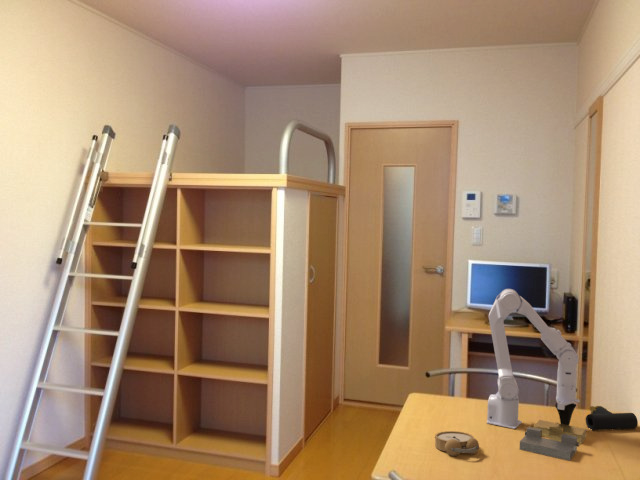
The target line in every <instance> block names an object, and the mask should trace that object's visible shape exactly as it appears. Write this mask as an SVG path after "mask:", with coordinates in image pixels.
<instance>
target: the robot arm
mask: <svg viewBox="0 0 640 480" xmlns="http://www.w3.org/2000/svg"><path fill="white" fill-rule="evenodd" d="M514 312H516V313H517V314H520V315H523V316H525V317H526V319H527V320H529V322H530V323H531V324H532V325H533V326H534V328H536V330H538V332H539V333H540V340H541V341H542V342H543V343H544V345H545V346H546V347H547V348H548V350H550V352H551V353H552V354H553V355H554V356H556V358H557V360H558V364H557V366H558V367H557V373H556V396H555V401H556V402H557V403H555V405H554V406H555V409H556V410H557V413H558V417H559V421H560V423H559V424H564V425H569V426H570V423H571V420H572V415H573V413H574V410H575V408H576V407H577V404H578V403H580V400H581V399H579V398H576V396H577V373H578V372H577V365H578V363H579V361H580V358H579V355H578V353H577V352H576V351H575V349H574V347H573V346H572V344H571V343H570V342H568V341H567V340H566V339H565V338H564V337H563V336H562V334H563V333H562V332H561V330H560V329H557V328H555V327H549V326H548V324H547V323H546V322H545V321H544V320H543V319H542V317H541V316H540V315H539V313H538V312H537V311H536V310H535V309H534V307H533V306H532V304H530V303H529V302H528V301H527V300H526V299H525V298H524V297H522V296H521V295H519V294H518V292H517V291H516V290H515V289H512V288H505V289H503V290H502V291H501V292H500V293H498V295H496V298H495V300H494V302H493V304H492V306H491V308H490V311H489V313H488V320H489V321H488V322H489V327H490V332H491V340H492V343H493V350H494V355H495V361H496V368H497V373H498V377H497V381H496V382H497V387H498V388H497V389H498V391H497V392H496V393H495V394H489V397H488V400H487V417H486V424H488V425H489V424H490V425H495V426H499V427H504V428H510V429H514V430H516V429H517V427H519V426H520V425H521V424H522V423H523V421H522V420H519V407H520V406H519V405H520V401H519V398H520V396H519V395H518V394H519V391H520V390H519V386H518V381H517V379H516V377H515V376H514V374H513V368H512V363H511V357H510V352H509V351H510V350H509V346H508V341H507V340H508V339H507V334H506V329H505V328H506V327H505V323H504V321H505V320H506V319H507V317H509V315H510V314H512V313H514ZM576 403H577V404H576Z"/></svg>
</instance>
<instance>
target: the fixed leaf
mask: <svg viewBox="0 0 640 480" xmlns="http://www.w3.org/2000/svg"><path fill="white" fill-rule="evenodd" d="M579 445H580V444H579V442H577V437H576V436H571V435H567V434H562V435H561V442H560V441H555V440H550V439H549V438H547V437H543V436H542V429H537V428H534V427H532V426H531V427H530V426H527V428H526V430H525V431H524V437H522V438H521V440H519V450H522V451H524V452H525V451H526V452H528V453H529V452H530V453H534V454H538V455H542V456H547V457H552V458H555V459H560V460H565V461H569V462H570V461H571V460H572V458H573V457H574V455H575V454H576V453H577V450H578V447H579Z"/></svg>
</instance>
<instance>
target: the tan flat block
mask: <svg viewBox="0 0 640 480" xmlns="http://www.w3.org/2000/svg"><path fill="white" fill-rule="evenodd" d="M533 428H537V429H542V437H543V438H547V439H550V440H555V441H560V442H561V435H562V434H567V435H571V436H576V437H577V442H579V445H582V444H583V442H584V441H585V440H586V438H587V437H586V436H587V429H586V428H583V427H578V426H574V425H570V424H569V425H564V424H561V423H557V422H553V421H548V420H543V419H539V420H537V421H536V423H535V424H534V425H533Z"/></svg>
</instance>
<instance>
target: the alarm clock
mask: <svg viewBox="0 0 640 480" xmlns="http://www.w3.org/2000/svg"><path fill="white" fill-rule="evenodd" d="M434 439H435V440H434V442H435V443H434V444H435V445H434V447H435V448H436V449H438V450H439V451H443V452H446V454H447V455H449V456H450V457H451V456H452V457H456V456H459V455H460V454H461V453H462V454H463V453H464V454H465V453H466V454H468V455H472V456H473V455H476V454H477V453H478V452H479V448H480V444H479V441H478V440H477V439H476V438H475V437H474V435H472V434H470V433H469V432H464V431H456V430H455V431H452V430H450V431H449V430H448V431H447V430H446V431H440V432H437V433H436V434H435V435H434Z"/></svg>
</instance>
